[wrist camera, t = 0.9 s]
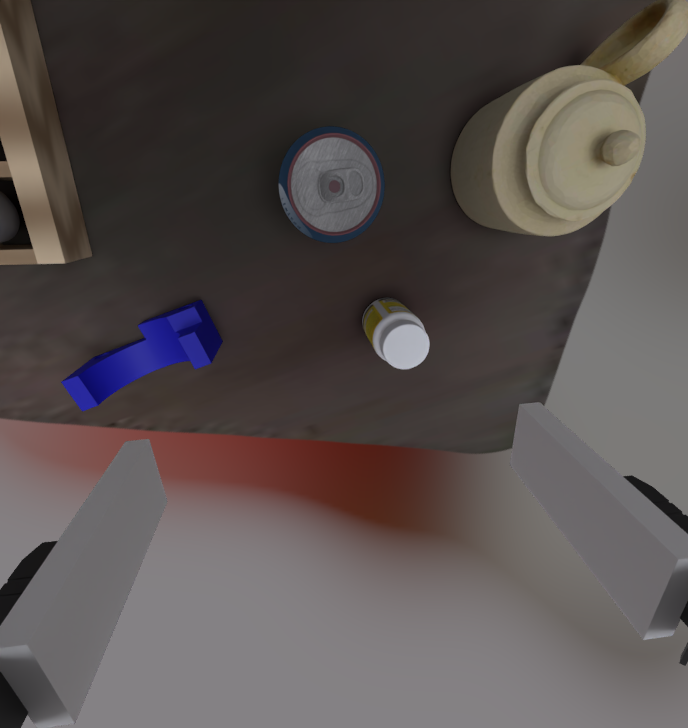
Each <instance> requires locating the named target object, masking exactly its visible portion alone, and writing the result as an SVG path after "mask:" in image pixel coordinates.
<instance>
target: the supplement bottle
mask: <svg viewBox="0 0 688 728" xmlns="http://www.w3.org/2000/svg"><path fill="white" fill-rule="evenodd" d="M362 325H363V329H364V332H365V334H366V335H367V337H368V339H369V341H370V342H371V344H372V346H373V348H374V350H375V351H376V353H377V354H378V355H379V356H380V357H381V358H382V359H383V360H385V361H387V362H388V363H389V364H390V365H392V366H393V367H395V368H398V369H410V368H413V367H415V366H417V365H419V364H420V363H421V362H422V361H423V360H424V359H425V358H426V356H427V354H428V351H429V345H430V343H429V338H428V335H427V334H426V332H425V329H424V326H423V324H422V322H421V321H420V320H419V318H417V317H416V316H415V315H414V314H413V313H412V312H411V311H410V310H409V309H407V308H406V307H405V306H404V305H403V304H402V303H401V302H399V301H398V300H395V299H393V298H381V299H378V300H376V301H374V302H373V303H371V304H370V305H369V306H368V307H367V309H366V310H365V312H364V315H363V319H362Z"/></svg>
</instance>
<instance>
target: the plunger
mask: <svg viewBox="0 0 688 728" xmlns="http://www.w3.org/2000/svg"><path fill="white" fill-rule="evenodd" d="M19 225H20V220H19V215H18V212H17V209H16V208H15V206H14V204H13V203H12V202H11V200H10V199H9V198H8V197H7V196H6V195H4V194H3V193H2V192H0V243H2V242H6V241H9V240H10V239H12V238H13V237H14V236H15V235H16V234H17V232H18V229H19Z"/></svg>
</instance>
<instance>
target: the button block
mask: <svg viewBox="0 0 688 728" xmlns="http://www.w3.org/2000/svg"><path fill="white" fill-rule="evenodd" d="M0 138H1V142H2V145H3V148H4V152H5V155H6V158H7V161H0V180H13V182H14V185H15V189H16V192H17V196H18V199H19V202H20V206H21V209H22V212H23V216H24V219H25V223H26V226H27V229H28V233H29V236H30V239H31V243H32V244H25V245H3V244H2V243H0V265H19V264H61V263H69V262H73V261H76V260H80V259H84V258H88V257H92V252H91V247H90V243H89V239H88V235H87V231H86V227H85V223H84V219H83V214H82V210H81V206H80V202H79V198H78V194H77V190H76V186H75V182H74V177H73V173H72V169H71V165H70V161H69V157H68V153H67V149H66V144H65V140H64V136H63V132H62V128H61V124H60V120H59V116H58V112H57V107H56V103H55V99H54V95H53V91H52V87H51V83H50V79H49V74H48V70H47V66H46V62H45V58H44V54H43V50H42V46H41V42H40V37H39V33H38V29H37V25H36V21H35V17H34V13H33V9H32V5H31V0H0Z"/></svg>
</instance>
